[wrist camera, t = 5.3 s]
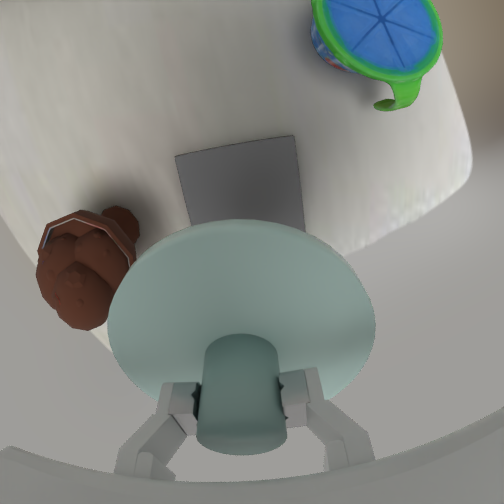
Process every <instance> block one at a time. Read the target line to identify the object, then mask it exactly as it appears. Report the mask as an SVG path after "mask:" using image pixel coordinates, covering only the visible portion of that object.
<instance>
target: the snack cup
mask: <svg viewBox="0 0 504 504" xmlns="http://www.w3.org/2000/svg"><path fill="white" fill-rule="evenodd" d="M311 5H312V8H313V20H312V25H311V38H312V42H313V45H314V47H315V49H316V50H317V52H318V54H319V55H320V56H321V57H322V59H323V60H325V61H326V62H327V63H328V64H330V65H332V66H333V67H335V68H337V69H340V70H343V71H347V72H352V73H358V74H362V75H364V76H366V77H369V78H372V79H375V80H380V81H384V82H386V83H388V84H389V85H390V86H391V88H392V90H393V93H394V98H395V100H393V99H384V100H381V101H378V102H376V103H375V104H374V105H373V106H374V108H375V109H377V110H380V111H394V110H397V109H401V108H405V107H408V106H410V105H411V104H412V103H413V102H414V101H415V99H416V98H417V96H418V93H419V90H420V85H421V80H422V76H423V75H424V74H426V73H427V72H428V71H429V70H430V69H431V68H432V67H433V66H434V65H435V64H436V62H437V60H438V58H439V56H440V53H441V50H442V45H443V32H442V27H441V22H440V19H439V16H438V13H437V11H436V9H435V7H434V5H433V3H432V2H431V0H311Z"/></svg>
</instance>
